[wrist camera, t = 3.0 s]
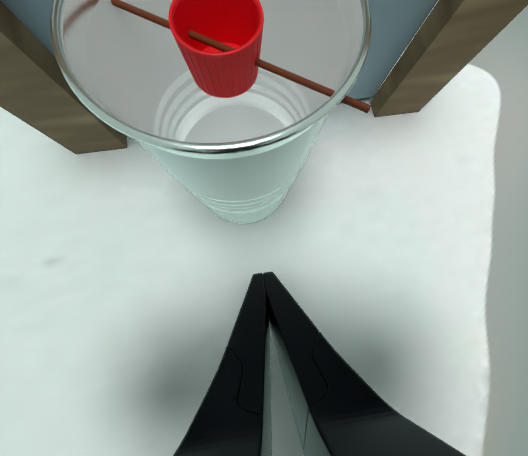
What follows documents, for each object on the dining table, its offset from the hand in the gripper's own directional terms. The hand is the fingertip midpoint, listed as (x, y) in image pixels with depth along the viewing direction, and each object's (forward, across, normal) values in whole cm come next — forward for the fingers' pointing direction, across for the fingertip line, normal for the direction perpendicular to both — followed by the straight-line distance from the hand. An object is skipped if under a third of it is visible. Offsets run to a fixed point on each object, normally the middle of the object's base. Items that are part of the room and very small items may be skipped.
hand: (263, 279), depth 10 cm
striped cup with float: (+10, 0, 0) cm, 10 cm away
